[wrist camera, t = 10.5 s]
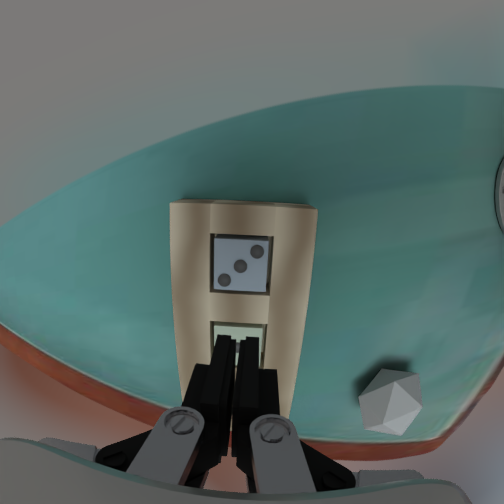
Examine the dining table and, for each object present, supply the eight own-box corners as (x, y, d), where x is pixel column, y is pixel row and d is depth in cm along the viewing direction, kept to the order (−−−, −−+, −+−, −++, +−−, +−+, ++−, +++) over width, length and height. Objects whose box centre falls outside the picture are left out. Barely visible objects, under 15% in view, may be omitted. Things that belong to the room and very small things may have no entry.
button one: (262, 313, 28) (262, 329, 25) (259, 349, 29) (259, 367, 26) (218, 310, 28) (213, 326, 25) (218, 347, 29) (214, 364, 26)
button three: (267, 233, 26) (269, 241, 23) (264, 279, 27) (265, 292, 24) (219, 231, 26) (214, 239, 23) (218, 277, 27) (213, 289, 24)
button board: (309, 204, 26) (318, 209, 23) (283, 410, 33) (285, 432, 29) (182, 198, 26) (170, 202, 23) (191, 404, 33) (186, 426, 29)
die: (338, 384, 33) (355, 451, 27) (384, 359, 27) (407, 438, 21) (379, 375, 36) (396, 433, 30) (422, 350, 30) (444, 416, 24)
